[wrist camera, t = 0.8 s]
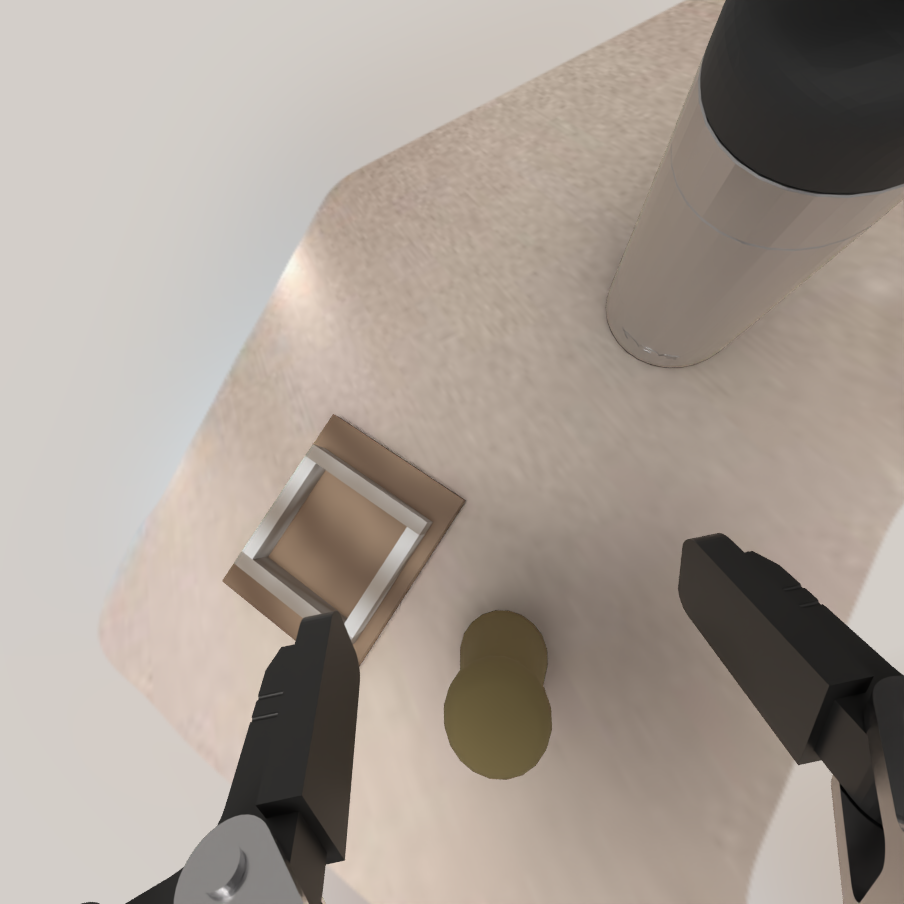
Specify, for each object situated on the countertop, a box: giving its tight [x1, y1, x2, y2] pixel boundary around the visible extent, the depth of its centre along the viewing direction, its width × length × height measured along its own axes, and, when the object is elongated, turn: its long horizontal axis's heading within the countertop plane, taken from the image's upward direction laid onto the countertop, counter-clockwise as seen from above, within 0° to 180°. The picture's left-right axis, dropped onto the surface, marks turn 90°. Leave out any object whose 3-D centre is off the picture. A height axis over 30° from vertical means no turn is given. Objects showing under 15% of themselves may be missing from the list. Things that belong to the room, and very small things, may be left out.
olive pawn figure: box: [444, 610, 552, 780], centre depth 25 cm, size 6×6×11 cm
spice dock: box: [223, 414, 465, 666], centre depth 32 cm, size 15×12×3 cm
